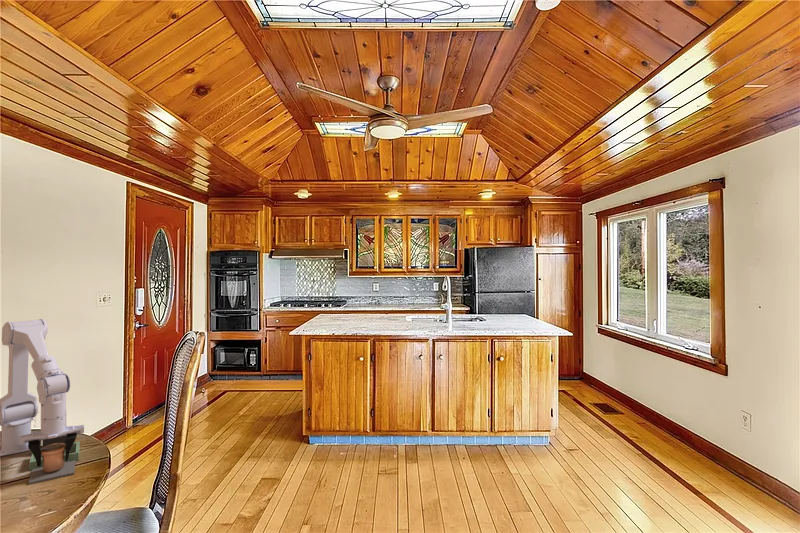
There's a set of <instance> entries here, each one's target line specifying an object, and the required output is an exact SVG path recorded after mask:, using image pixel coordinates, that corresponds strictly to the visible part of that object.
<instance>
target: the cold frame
mask: <svg viewBox="0 0 800 533" xmlns="http://www.w3.org/2000/svg"><path fill="white" fill-rule="evenodd" d="M80 444H81V442H80V441H75V442H74V443H73V445H72V448H71V450H70V453H69V458H68V460H67V461H65V462H69V461H74V460H75V462H78V461H77V460H79V459H80V450H81V448H80V447H81V446H80ZM65 455H66V449H65V450H64V458H65ZM28 465H29V466H28V468H29V469H28V470H29V472H30V471H31V472H32V470H33V469H36V468H41V467H43V461H42V455H41V466H38V467H37V462H36V459H35V457H34V455H33V453H32V452H31V456H30V460H29V464H28Z"/></svg>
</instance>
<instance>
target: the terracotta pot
mask: <svg viewBox="0 0 800 533" xmlns="http://www.w3.org/2000/svg"><path fill="white" fill-rule="evenodd" d="M65 449H66V444H65V443H55V444H50V445H48V446H45V447H43V446H42V447H41V450H40V454H41V455H42V457H41V459H42V461H43V471H44V472H52V471H56V470H59V469H61V468H62V467H64V465H65V458H64V454H65V453H64V450H65Z"/></svg>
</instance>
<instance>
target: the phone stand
mask: <svg viewBox="0 0 800 533" xmlns="http://www.w3.org/2000/svg"><path fill="white" fill-rule="evenodd" d="M55 443H65V444H66V436H61V437H55V438H50V439H44V440H42V448H43V447H45V446H48V445H50V444H55Z"/></svg>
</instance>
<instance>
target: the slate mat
mask: <svg viewBox="0 0 800 533" xmlns="http://www.w3.org/2000/svg"><path fill="white" fill-rule="evenodd" d="M75 466H76V461H75V460H74V461H69V462H65V465H64V467H62V468H61V469H59V470H56V471H52V472H44V471H43V467H41V468H36V469H33V470H32V471H31V473H30V477H29V480H28V485H34V484H39V483H43V482H46V481H51V480H55V479H60V478H65V477H69V476H73V475H75V470H76V467H75Z"/></svg>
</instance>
